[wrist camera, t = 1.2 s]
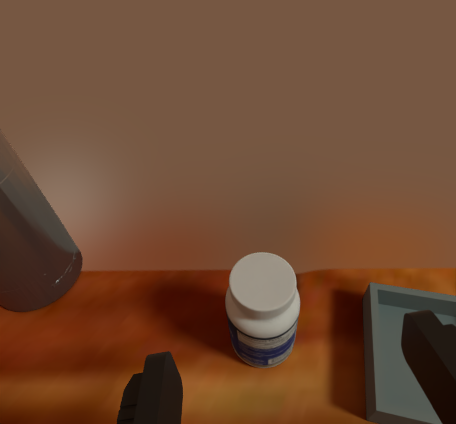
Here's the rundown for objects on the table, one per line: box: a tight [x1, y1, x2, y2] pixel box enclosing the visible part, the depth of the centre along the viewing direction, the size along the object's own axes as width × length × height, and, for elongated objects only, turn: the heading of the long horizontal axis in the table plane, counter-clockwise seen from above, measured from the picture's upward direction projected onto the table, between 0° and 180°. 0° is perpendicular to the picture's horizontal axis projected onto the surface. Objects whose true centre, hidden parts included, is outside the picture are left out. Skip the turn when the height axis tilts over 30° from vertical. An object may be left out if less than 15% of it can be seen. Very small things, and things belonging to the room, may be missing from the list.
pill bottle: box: [225, 252, 300, 368], centre depth 27 cm, size 6×6×10 cm
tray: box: [362, 282, 456, 424], centre depth 27 cm, size 10×10×3 cm
